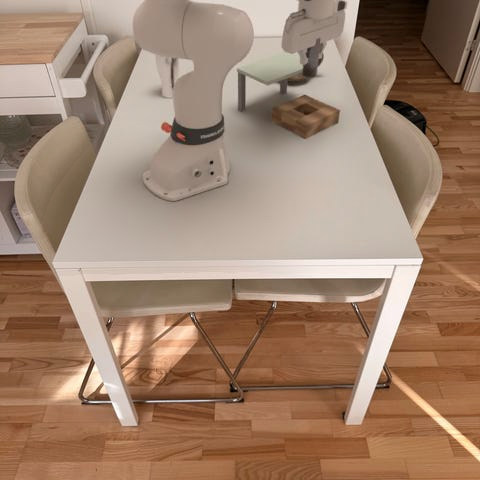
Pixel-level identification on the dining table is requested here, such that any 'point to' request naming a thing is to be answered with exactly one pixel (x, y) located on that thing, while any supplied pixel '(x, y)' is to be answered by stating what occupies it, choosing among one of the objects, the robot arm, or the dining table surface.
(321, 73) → the dining table surface
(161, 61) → the cream rounded piece
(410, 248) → the dining table surface
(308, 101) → the socket plate
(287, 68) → the pale green platform
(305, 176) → the dining table surface
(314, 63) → the peg
